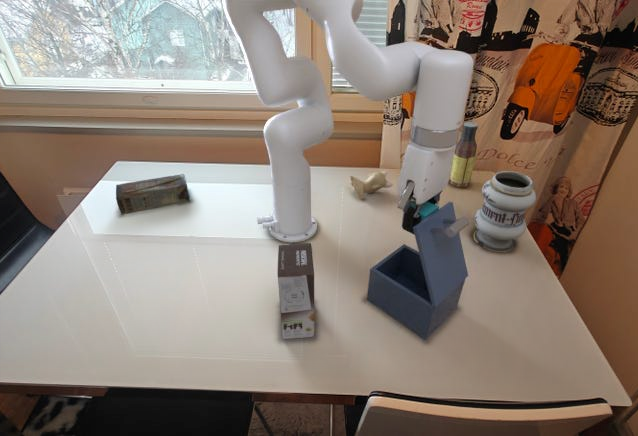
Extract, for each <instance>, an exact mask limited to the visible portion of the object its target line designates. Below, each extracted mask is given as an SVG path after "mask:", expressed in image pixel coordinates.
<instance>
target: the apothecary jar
mask: <svg viewBox="0 0 638 436" xmlns="http://www.w3.org/2000/svg"><path fill="white" fill-rule="evenodd" d="M533 183H534V182H533V180H532V178H531V177H529V176H527V175H526V174H523V173H521V172H517V171H512V170H501V171H497V172H496V173H494V175H493V177H492V178H491V179H488V181H487V180H486V182H485V183H484V184H483V186H482V188H481V194H482V197H483V198H484V199H483V204H482V205H481V207H480V208H479V209H477V211H476V212H475V213H474V215H473V223H474V225H475V227H476V230H475V231H474V232H473V235H472V236H473V240H474V241H475V243H476V244H477V245H480V246H482V247H483V249H485V250H486V251H487V250H488V251H491V252H495V253H507V252H510V251H511V250H513V249H514V247H515V239H518V238H520V237H522V236H523V235H524V234H525V232H526V231H527V223H526V220H525V215H526V212H527V210H528V209H530V208H532V207H533V206H534V204H535V203H536V201H537V193H536V191H535V189H533Z"/></svg>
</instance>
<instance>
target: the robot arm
mask: <svg viewBox="0 0 638 436" xmlns="http://www.w3.org/2000/svg"><path fill="white" fill-rule="evenodd" d="M222 5H223V9H224V12H225V15H226V19H227V21H228V23H229V25H230V27H231V29H232V31H233V32H234V35H235V36H236V39H237V41H238V42H239V44H240V47H241V49H242V53H243V55H244V60H245V62H246V65H247V68H248V71H249V75H250V77H251V80H252V83H253V86H254V90H255V92H256V95H257V97H258V99H259V101H260V102H261V104H262V105H263V106H265V107H266V108H279V107H283V106H286V105H289V104H292V103H297V106H298V107H296V108H292V109H289V110H286V111H282V112H279V113H277V114H275V115H273V116H272V117H270V118H269V119H268V120H267V121H266V123H265V125H264V128H263V140H264V142H265V146H266V149H267V154H268V157H269V165H270V175H271V187H272V198H273V199H272V200H273V210H272V214H268V216H267V215H266V216H257V217H256V220H257V225H262V229H269V233H270V235H271V236H272V237H273V238H274V239H276V240H278V241H281V242H284V243H302V242H304V241H307V240H309V239H311V238H312V237H313V236H315V234H316V233H317V231H318V223H317V220H316V219H315V218H314V217H313V216H312V181H311V180H312V178H311V177H312V176H311V175H312V173H311V171H312V170H311V165H310V163H309V161H308V160H307V159H306V157H305V156H304V152H305V151H306V150H308V149H310V148H312V147H314V146H317V145H320V144H322V143H323V142H326V141H327V140H329V139H330V137H332V135H333V133H334V128H335V124H334V123H335V121H334V116H333V112H332V111H333V110H332V107H331V104H330V101H329V97H328V93H327V89H326V86H325V85H326V84H325V82H324V78H323V75H322V73H321V70H320V69H319V67H318V65H317V63H315V61H313V59H311V58H310V57H308V56H305V55H293V56H289V57H288V56H287V54H286V52H285V48H284V45H283V41H282V38H281V36H280V34H279V32H278V31H277V29H276V28H275V26H274V24H272V23H271V22H270V20H269V19H267V18H266V16H265V15H264V13H266V12H273V11H274V12H275V11H283V10H284V11H285V10H292V9H297V8H298V9H299V8H300V9H301V10H302V11H303V13H304V14H306V16H307V17H308V18H309V19H311V20H312V21H313V23H314V24H316V25H317V26H318V28H320V29H321V31H323V32H324V35H325V38H324V39H325V46H326V50H327V53H328V56H329V59H330V61H331V63H332V66H333V67H334V69H335V71H337V73H338V74H339V75H340V76H341V77H342V78H343V79H344V80H345V81H346V82H347V83H348V85H350V86H351V88H353V89H354V90H355V91H356V92H357V93H358V94H360V95H361V96H363V97H364V98H366V99H368V100H370V101H373V102H384V101H388V100H390V99H393V98H396V97H399V96H400V95H404V94H408V93H412V92H415V98H414V106H413V113H412V120H411V128H410V133H409V143H408V144H407V147H406V149H405V153H404V156H403V158H402V163H401V166H400V167H401V168H400V173H399V177H398V184H397V189H396V195H397V197H400V200H399V202H398V204H397V209H400V210H402V213H404V219H403V218H402V220H403V226H402V225H401V227H402V230H404V231H407V232H408V233H411V234H412V235H414V236H415V234H414V230H413V227H414V226H416V225H417V224H419V223H420V222H421V216H419V215H420V212H421V209H422V205H423V203H424V202H426V201H427V202H430V203H432V204H434V205H438V204H439V203H440V200H441V194H442V192H443V190H445V189H446V188H447V186H448V185H449V183H450V175H451V169H452V163H453V158H454V152H455V148H456V146H457V143H458V142H459V136H460V133H461V132H460V131H461V127H462V123H463V117H464V113H465V108H466V105H467V104H466V103H467V99H468V94H469V89H470V85H471V81H472V80H471V79H472V74H473V70H474V59H473V57H472V56H471V55H470V54H469V53H467V52H465V51H460V50H454V49H439V48H437V47H433V46H432V45H428V44H426V43H423V42H419V41H405V42H400V43H395V44H391V45H386V46H382V47H378V46H377V45H375V44H374V43H373V42H372V41H371V40H370V39H369V38H368V37H367V36H366V35H365V34H364V33H363V32H362V31H361V30H360V29H359V27H358V26H357V21H358V19H360V16H361V13H362V10H363V7H364V0H222ZM411 202H413V203H415V204H417V205H416V209H415V208H414V207H412V206H410V205H411Z"/></svg>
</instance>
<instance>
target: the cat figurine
mask: <svg viewBox="0 0 638 436" xmlns="http://www.w3.org/2000/svg"><path fill="white" fill-rule="evenodd" d="M387 173H388V172H387V171H386V170H384V171H375V172H370V173H368V174H367V175H366V179H364V180H361V179H359V178H357V177H355V176H352V175H350V176H349V182H350V185H351V188H352V189H353V191H354V192H355V194H356V195H357V197H358V198H359V199H360V200H364V199H365V193H367V194H371V193H375V192H377V191H378V190H381V189H383V188H386V189H387V188H391V187H393V182H390V181H389V180H387V179H386V177H387Z"/></svg>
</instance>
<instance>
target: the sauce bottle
mask: <svg viewBox="0 0 638 436" xmlns="http://www.w3.org/2000/svg"><path fill="white" fill-rule="evenodd" d="M478 127H479V125H478V123H476V122H472V121H466V122H464V123H463V124H462V131H461V132H462V133H461V136H460V139H458V141H457V146H456V147H455V148H454V156H453V163H452V169H451V174H450V178H449V183H450V185H451V186H454V187H456V188H461V189H462V188H467V187H468V186H469V185H470V182H471V180H472V175H473V169H474V166H475V160H476V157H477V155H476V153H477V148H478V145H477V142H476V133H477V130H478V129H479V128H478Z"/></svg>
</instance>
